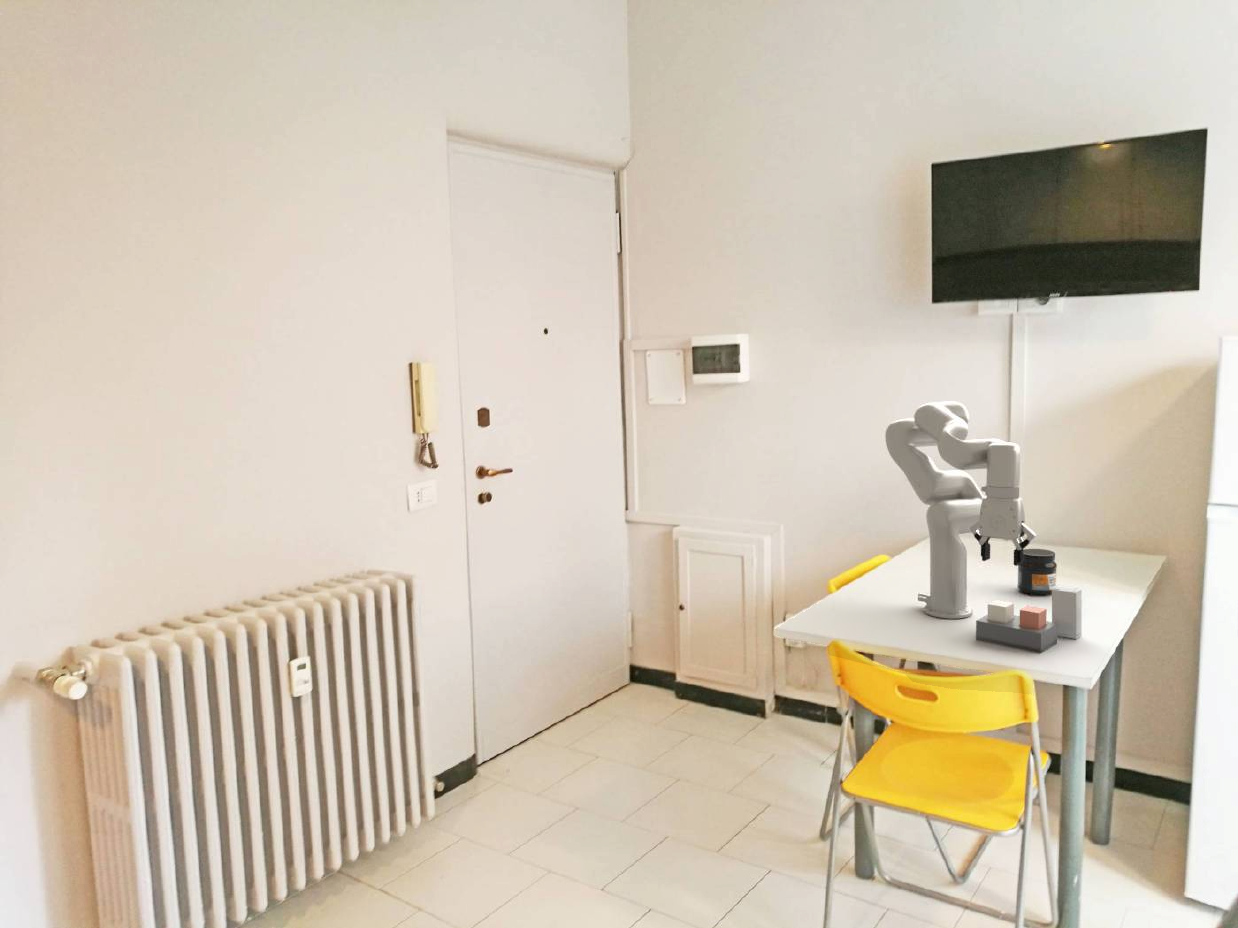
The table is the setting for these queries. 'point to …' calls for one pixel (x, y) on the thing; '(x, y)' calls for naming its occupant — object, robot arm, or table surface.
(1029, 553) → the supplement container
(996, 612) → the ivory key
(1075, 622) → the skincare box
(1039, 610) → the brick key
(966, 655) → the table surface
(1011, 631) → the key housing
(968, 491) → the robot arm
